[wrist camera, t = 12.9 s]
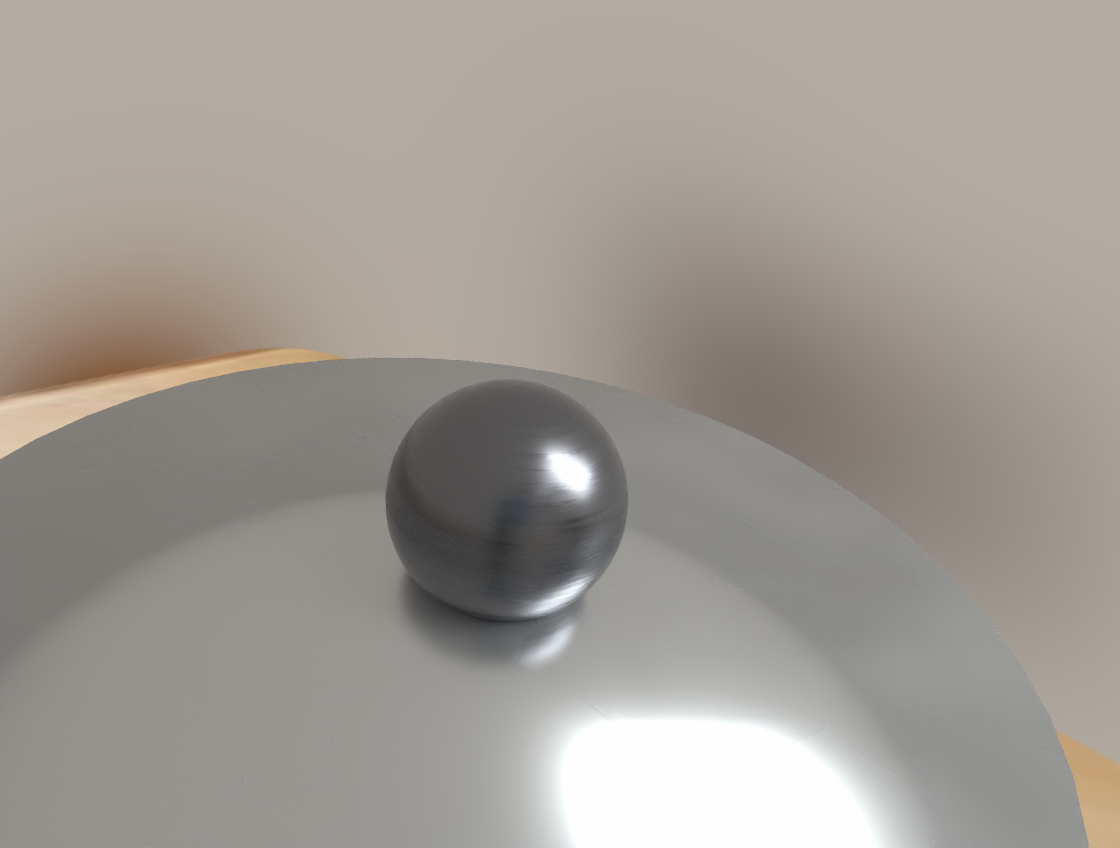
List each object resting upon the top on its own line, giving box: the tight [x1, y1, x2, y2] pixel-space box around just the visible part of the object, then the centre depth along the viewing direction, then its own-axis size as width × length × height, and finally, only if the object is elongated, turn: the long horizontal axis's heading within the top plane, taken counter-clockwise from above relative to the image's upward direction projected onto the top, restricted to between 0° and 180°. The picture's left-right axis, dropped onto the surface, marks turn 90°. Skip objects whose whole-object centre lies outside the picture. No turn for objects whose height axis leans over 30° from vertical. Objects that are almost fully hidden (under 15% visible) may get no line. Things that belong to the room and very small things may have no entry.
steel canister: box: [0, 358, 1088, 848], centre depth 11 cm, size 12×12×14 cm
